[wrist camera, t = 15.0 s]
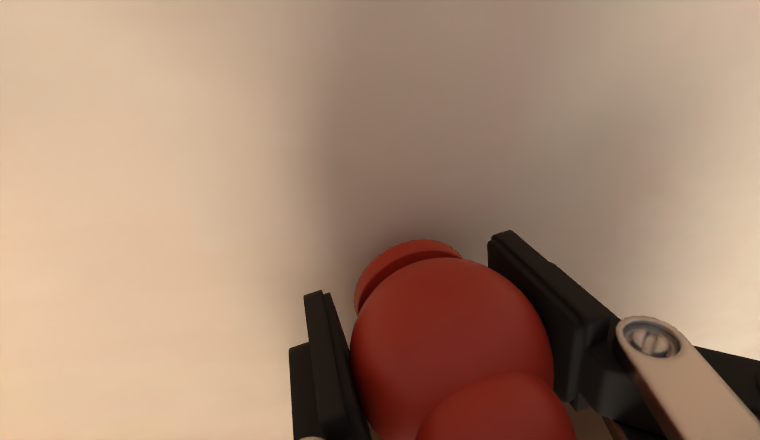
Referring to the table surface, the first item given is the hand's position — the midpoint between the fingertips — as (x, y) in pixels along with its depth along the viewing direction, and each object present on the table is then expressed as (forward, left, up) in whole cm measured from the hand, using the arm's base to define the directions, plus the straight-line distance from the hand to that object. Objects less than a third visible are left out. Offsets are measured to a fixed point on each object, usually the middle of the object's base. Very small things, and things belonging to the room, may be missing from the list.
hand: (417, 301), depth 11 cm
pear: (0, 0, -1) cm, 1 cm away
